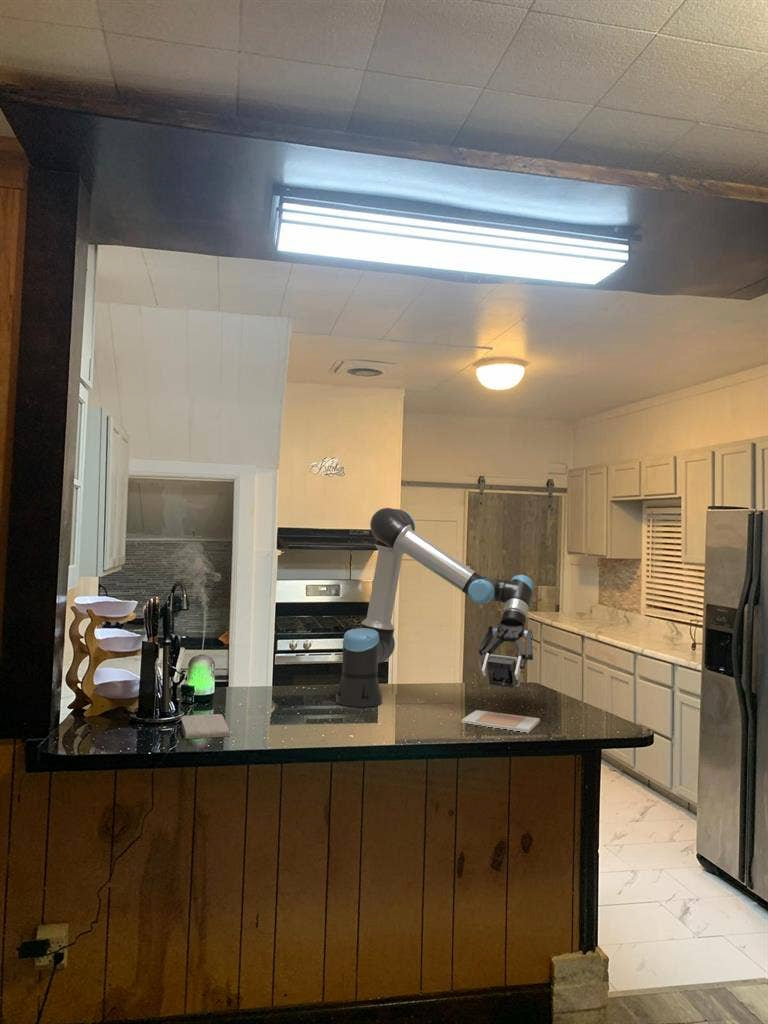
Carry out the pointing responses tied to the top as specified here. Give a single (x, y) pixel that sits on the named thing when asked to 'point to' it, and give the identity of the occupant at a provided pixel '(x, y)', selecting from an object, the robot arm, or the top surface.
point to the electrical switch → (502, 671)
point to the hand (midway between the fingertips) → (500, 675)
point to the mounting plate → (501, 721)
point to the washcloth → (204, 726)
